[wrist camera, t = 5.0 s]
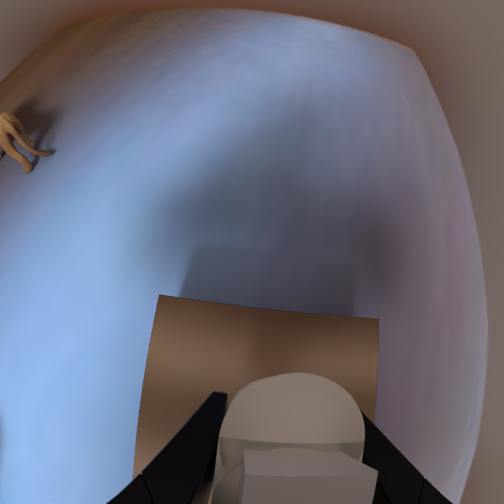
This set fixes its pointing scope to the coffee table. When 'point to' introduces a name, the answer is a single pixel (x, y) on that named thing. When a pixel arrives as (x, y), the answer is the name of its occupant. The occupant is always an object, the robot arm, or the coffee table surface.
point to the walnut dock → (243, 360)
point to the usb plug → (292, 445)
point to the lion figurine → (6, 126)
